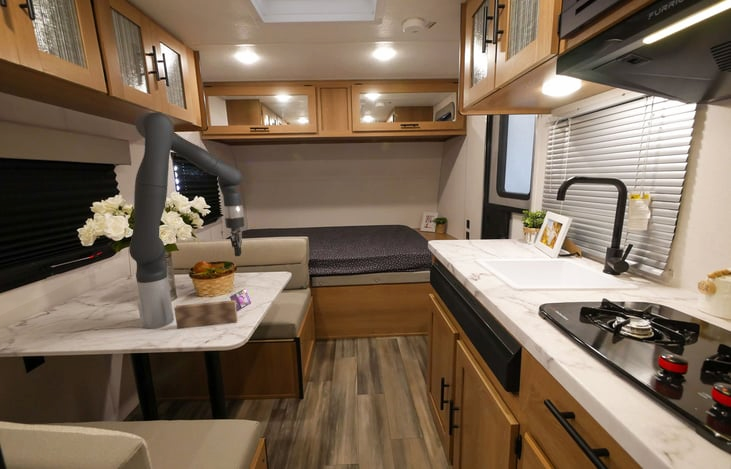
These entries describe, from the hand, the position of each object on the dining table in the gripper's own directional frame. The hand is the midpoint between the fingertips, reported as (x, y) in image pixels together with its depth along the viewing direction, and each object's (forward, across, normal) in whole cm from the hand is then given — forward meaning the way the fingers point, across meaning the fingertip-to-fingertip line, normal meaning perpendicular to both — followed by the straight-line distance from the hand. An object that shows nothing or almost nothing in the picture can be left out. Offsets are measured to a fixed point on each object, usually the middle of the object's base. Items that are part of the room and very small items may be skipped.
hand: (238, 255), depth 137 cm
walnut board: (+19, +26, -8) cm, 33 cm away
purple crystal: (+19, +12, +1) cm, 23 cm away
